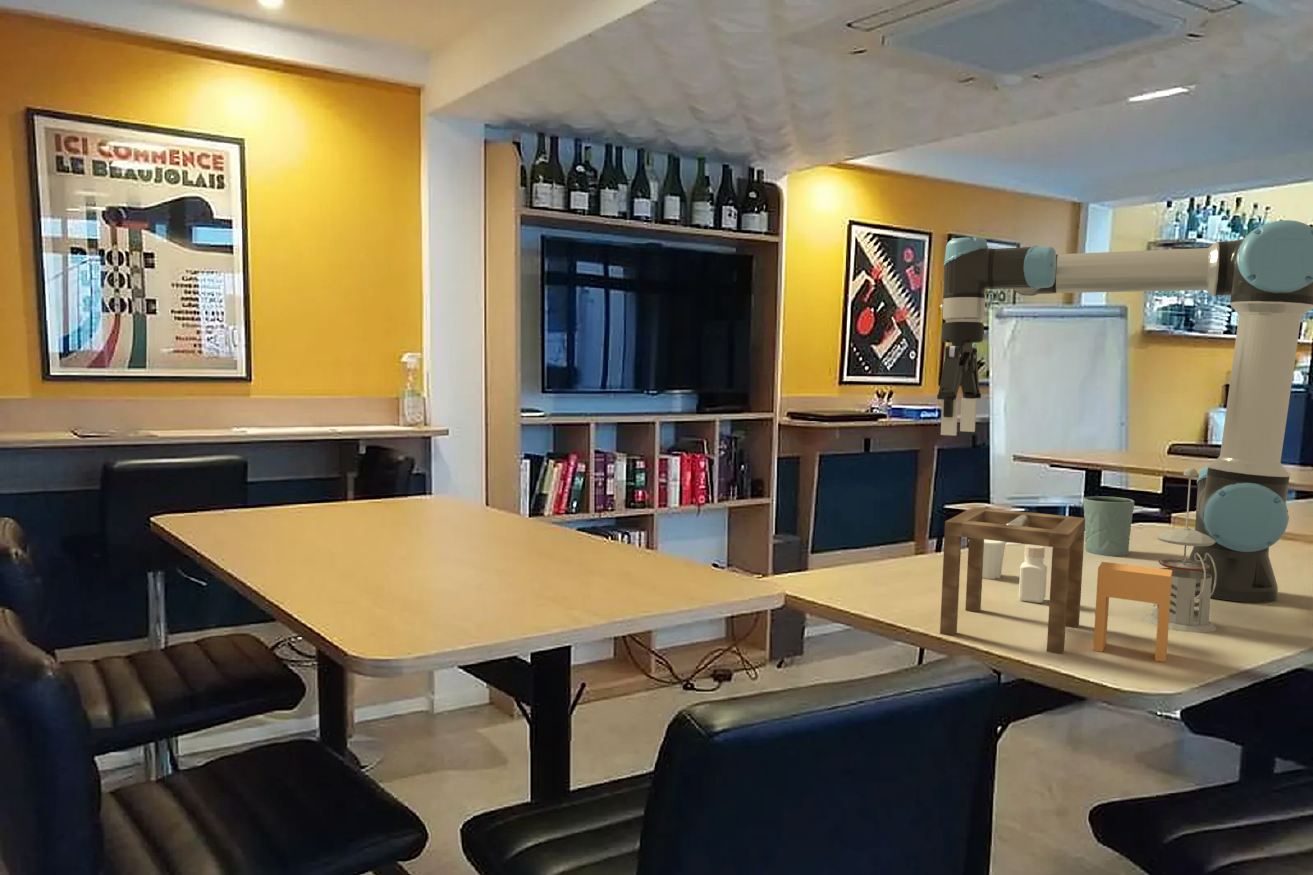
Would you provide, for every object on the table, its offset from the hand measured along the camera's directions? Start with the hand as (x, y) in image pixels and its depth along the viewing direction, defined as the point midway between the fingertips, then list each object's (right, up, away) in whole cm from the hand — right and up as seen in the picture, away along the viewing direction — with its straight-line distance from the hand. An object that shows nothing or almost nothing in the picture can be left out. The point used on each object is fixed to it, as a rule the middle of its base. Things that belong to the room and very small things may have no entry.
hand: (958, 433), depth 175 cm
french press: (+26, -31, -30) cm, 50 cm away
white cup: (+6, -28, +3) cm, 29 cm away
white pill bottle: (+8, -29, -16) cm, 34 cm away
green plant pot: (+42, -27, +29) cm, 57 cm away
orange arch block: (+10, -31, -44) cm, 55 cm away
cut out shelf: (-3, -30, -34) cm, 46 cm away
